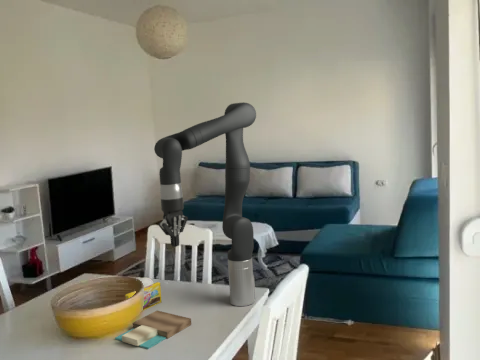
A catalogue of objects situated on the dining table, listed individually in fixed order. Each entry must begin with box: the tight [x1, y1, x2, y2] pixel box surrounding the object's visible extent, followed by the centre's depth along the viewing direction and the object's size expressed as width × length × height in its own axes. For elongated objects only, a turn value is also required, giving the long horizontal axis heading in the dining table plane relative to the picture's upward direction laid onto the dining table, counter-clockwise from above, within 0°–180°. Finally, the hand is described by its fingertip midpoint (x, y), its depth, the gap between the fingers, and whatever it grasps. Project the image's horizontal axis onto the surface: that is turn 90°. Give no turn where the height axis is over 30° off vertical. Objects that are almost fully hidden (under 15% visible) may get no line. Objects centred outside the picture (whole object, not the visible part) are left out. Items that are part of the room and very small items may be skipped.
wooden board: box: [132, 310, 192, 340], centre depth 165 cm, size 12×16×2 cm
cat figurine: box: [137, 276, 155, 287], centre depth 193 cm, size 9×11×12 cm
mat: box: [114, 327, 167, 350], centre depth 157 cm, size 8×15×1 cm, turn 56°
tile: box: [121, 325, 158, 347], centre depth 156 cm, size 9×7×2 cm
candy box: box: [124, 281, 162, 311], centre depth 182 cm, size 16×2×8 cm, turn 143°
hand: (175, 246), depth 166 cm, fingers closed
